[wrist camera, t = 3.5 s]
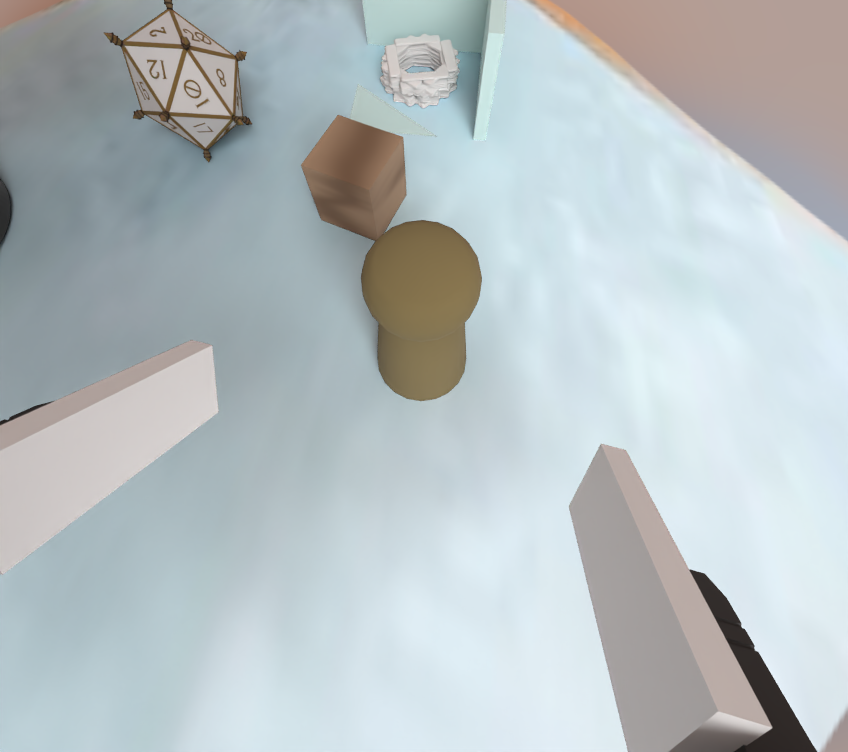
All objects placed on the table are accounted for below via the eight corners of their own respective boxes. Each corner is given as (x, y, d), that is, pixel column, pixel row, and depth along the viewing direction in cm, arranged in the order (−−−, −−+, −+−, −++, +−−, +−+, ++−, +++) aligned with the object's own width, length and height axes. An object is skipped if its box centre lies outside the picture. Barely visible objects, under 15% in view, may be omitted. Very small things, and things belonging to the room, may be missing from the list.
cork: (432, 303, 26) (438, 173, 15) (483, 368, 24) (530, 273, 14) (360, 347, 25) (315, 241, 14) (410, 418, 23) (400, 357, 13)
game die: (235, 157, 35) (204, 13, 29) (286, 165, 31) (261, -1, 25) (127, 159, 29) (62, -20, 23) (171, 170, 25) (105, -46, 19)
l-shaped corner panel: (369, 38, 35) (355, -79, 28) (492, 48, 34) (511, -69, 27) (347, 128, 31) (324, 20, 24) (485, 140, 31) (504, 34, 24)
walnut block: (321, 220, 28) (301, 165, 23) (351, 175, 30) (337, 115, 25) (378, 242, 28) (369, 190, 23) (406, 195, 29) (403, 137, 24)
